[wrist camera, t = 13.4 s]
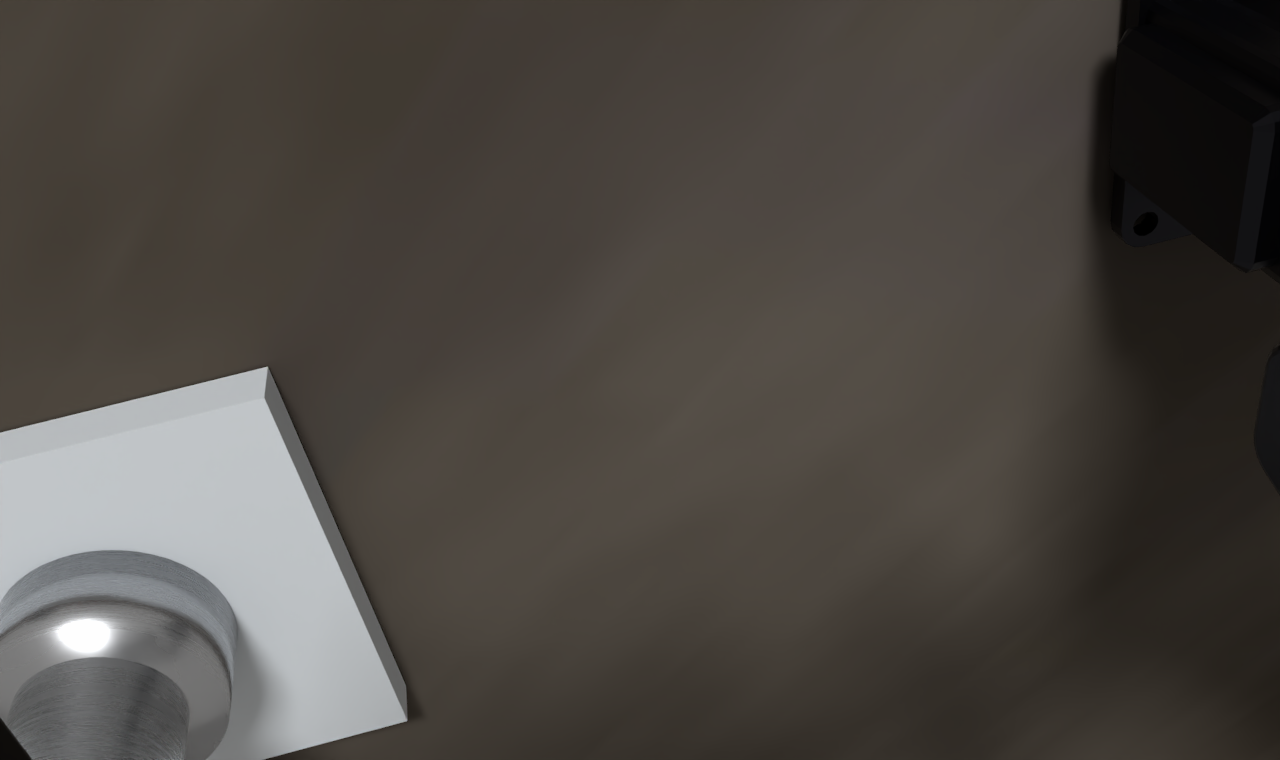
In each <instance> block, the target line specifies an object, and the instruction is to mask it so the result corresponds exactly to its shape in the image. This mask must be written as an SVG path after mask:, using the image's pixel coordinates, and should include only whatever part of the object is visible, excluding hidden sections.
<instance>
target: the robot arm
mask: <svg viewBox="0 0 1280 760" xmlns="http://www.w3.org/2000/svg"><path fill="white" fill-rule="evenodd" d="M1109 165H1110V168H1111V169H1112V170H1113V171H1114V184H1113V198H1112V211H1111V226H1112V230H1113V231H1114V232H1115V234H1116V235H1117V236H1118V237H1120V238H1121V239H1122V240H1123V241H1124V242H1125V243H1126V244H1128V245H1131V246H1133V247H1142V246H1147V245H1151V244H1155V243H1159V242H1163V241H1167V240H1171V239H1175V238H1179V237H1183V236H1187V235H1191V234H1194V235H1195V236H1196V237H1198V238H1199V239H1200V240H1201V241H1203V242H1204V243H1205V244H1206V245H1208V246H1209V247H1210V248H1211V249H1213V250H1214V251H1215V252H1217V253H1218V254H1219V255H1220V256H1222V257H1223V258H1224V259H1225V260H1227V261H1228V262H1229V263H1230V264H1232V265H1233V266H1234V267H1236V268H1237V269H1238V270H1240V271H1242V272H1245V273H1248V272H1252V271H1256V270H1259V269H1261V270H1262V271H1264V272H1265V273H1266V274H1268V275H1269V276H1270V277H1272V278H1273V279H1274V280H1275V281H1277V282H1278V283H1279V284H1280V0H1127V13H1126V27H1125V33H1124V35H1123V36H1122V38H1121V40H1120V42H1119V44H1118V49H1117V63H1116V77H1115V91H1114V104H1113V118H1112V132H1111V145H1110V159H1109ZM1146 212H1147V214H1146V217H1145V219H1144V220H1143V221H1142V222H1141V223H1140V224H1138V225H1136V226H1134V223H1135V221H1136V220H1137V219H1138V217H1139V216H1140V215H1142V214H1144V213H1146ZM1133 226H1134V227H1133ZM1254 446H1255V450H1256V454H1257V457H1258V459H1259V462H1260V464H1261V466H1262V468H1263V470H1264V472H1265V473H1266V475H1267V476H1268V478H1269V479H1270V481H1271V483H1272V484H1273V486H1274V487H1275V489H1276V490H1277V492H1278V494H1279V495H1280V343H1279V344H1278V345H1276V346H1275V347H1274V348H1273V349H1272V351H1271V352H1270V354H1269V355H1268V358H1267V361H1266V365H1265V371H1264V377H1263V382H1262V388H1261V394H1260V399H1259V405H1258V411H1257V416H1256V422H1255V428H1254ZM0 760H32V759H31V757H30V755H29V754H28V753H27V752H26V750H25V749H24V748H23V746H22V745H21V744H20V742H19V741H18V740H17V738H16V737H15V736H14V734H13V733H12V732H11V731H10V729H9V728H8V727H7V725H6V724H5V723H4V721H3V720H2V719H1V717H0Z"/></svg>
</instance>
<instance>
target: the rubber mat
mask: <svg viewBox="0 0 1280 760" xmlns="http://www.w3.org/2000/svg"><path fill="white" fill-rule="evenodd" d="M101 550H124V551H135V552H142V553H147V554H153V555H157V556H160V557H164V558H167V559H170V560H173V561H175V562H178V563H180V564H183V565H185V566H187V567H189V568H191V569H192V570H194V571H196V572H198V573H199V574H201V575H202V576H204V577H205V578H207V579H208V580H209V581H210V582H211V583H212V584H214V585H215V586H216V587H217V588H218V589H219V590H220V591H221V593H222V594H223V595H224V596H225V597H226V599H227V601H228V602H229V604H230V606H231V607H232V610H233V612H234V615H235V617H236V622H237V627H238V641H237V651H236V661H235V670H234V680H233V690H232V700H231V710H230V718H229V723H228V728H227V730H226V733H225V735H224V738H223V739H222V741H221V742H220V744H219V746H218V747H217V748H216V749H215V751H214V752H213V753H212V754H211V755H210V756H209V757H208V758H207V759H206V760H264V759H267V758H271V757H275V756H278V755H282V754H286V753H290V752H293V751H297V750H301V749H305V748H308V747H312V746H316V745H320V744H323V743H327V742H331V741H335V740H338V739H342V738H346V737H350V736H353V735H357V734H361V733H365V732H368V731H372V730H376V729H379V728H383V727H387V726H391V725H394V724H398V723H402V722H406V721H408V720H407V694H406V685H405V682H404V680H403V678H402V675H401V673H400V671H399V668H398V666H397V664H396V662H395V659H394V657H393V655H392V652H391V650H390V648H389V645H388V643H387V641H386V638H385V636H384V634H383V631H382V629H381V627H380V625H379V622H378V620H377V618H376V615H375V613H374V611H373V608H372V606H371V604H370V601H369V599H368V597H367V594H366V592H365V590H364V588H363V585H362V583H361V581H360V578H359V576H358V574H357V571H356V569H355V567H354V564H353V562H352V560H351V558H350V555H349V553H348V551H347V548H346V546H345V544H344V541H343V539H342V537H341V534H340V532H339V530H338V527H337V525H336V523H335V521H334V518H333V516H332V514H331V511H330V509H329V507H328V504H327V502H326V500H325V497H324V495H323V493H322V490H321V488H320V486H319V484H318V481H317V479H316V477H315V474H314V472H313V470H312V467H311V465H310V463H309V460H308V458H307V456H306V453H305V451H304V449H303V447H302V444H301V442H300V440H299V437H298V435H297V433H296V430H295V428H294V426H293V423H292V421H291V419H290V416H289V414H288V412H287V410H286V407H285V405H284V403H283V400H282V398H281V396H280V393H279V391H278V389H277V386H276V384H275V382H274V379H273V377H272V375H271V373H270V370H269V368H268V367H264V368H260V369H256V370H252V371H248V372H244V373H240V374H236V375H232V376H228V377H224V378H220V379H216V380H212V381H208V382H204V383H200V384H196V385H192V386H187V387H183V388H179V389H175V390H171V391H167V392H163V393H159V394H155V395H151V396H147V397H143V398H139V399H135V400H131V401H127V402H123V403H119V404H115V405H111V406H106V407H102V408H98V409H94V410H90V411H86V412H82V413H78V414H74V415H70V416H66V417H62V418H58V419H54V420H50V421H46V422H42V423H38V424H34V425H30V426H25V427H21V428H17V429H13V430H9V431H5V432H1V433H0V602H1V600H2V599H3V597H4V596H5V594H6V593H7V592H8V590H9V589H10V588H11V587H12V586H13V585H14V584H15V583H16V582H17V581H18V580H20V579H21V578H22V577H24V576H25V575H26V574H28V573H29V572H31V571H33V570H34V569H36V568H38V567H40V566H41V565H44V564H46V563H48V562H51V561H53V560H56V559H59V558H62V557H66V556H69V555H73V554H78V553H84V552H90V551H101Z"/></svg>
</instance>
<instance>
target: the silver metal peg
mask: <svg viewBox="0 0 1280 760" xmlns="http://www.w3.org/2000/svg"><path fill="white" fill-rule="evenodd" d="M237 641H238V627H237V622H236V617H235V615H234V612H233V610H232V607H231V606H230V604H229V602H228V601H227V599H226V597H225V596H224V595H223V594H222V593H221V591H220V590H219V589H218V588H217V587H216V586H215V585H214V584H212V583H211V582H210V581H209V580H208V579H207V578H205V577H204V576H202V575H201V574H199V573H198V572H196V571H194V570H192V569H191V568H189V567H187V566H185V565H183V564H180V563H178V562H175V561H173V560H170V559H167V558H164V557H160V556H157V555H153V554H147V553H142V552H135V551H124V550H101V551H90V552H84V553H78V554H73V555H69V556H66V557H62V558H59V559H56V560H53V561H51V562H48V563H46V564H44V565H41V566H40V567H38V568H36V569H34V570H33V571H31V572H29V573H28V574H26V575H25V576H24V577H22V578H21V579H20V580H18V581H17V582H16V583H15V584H14V585H13V586H12V587H11V588H10V589H9V590H8V592H7V593H6V594H5V596H4V597H3V599H2V600H1V602H0V717H1V719H2V720H3V721H4V723H5V724H6V725H7V727H8V728H9V729H10V731H11V732H12V733H13V734H14V736H15V737H16V738H17V740H18V741H19V742H20V744H21V745H22V746H23V748H24V749H25V750H26V752H27V753H28V754H29V755H30V757H31V759H32V760H206V759H207V758H208V757H209V756H210V755H211V754H212V753H213V752H214V751H215V749H216V748H217V747H218V746H219V744H220V742H221V741H222V739H223V738H224V735H225V733H226V730H227V728H228V723H229V718H230V710H231V700H232V690H233V680H234V670H235V661H236V651H237Z"/></svg>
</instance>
